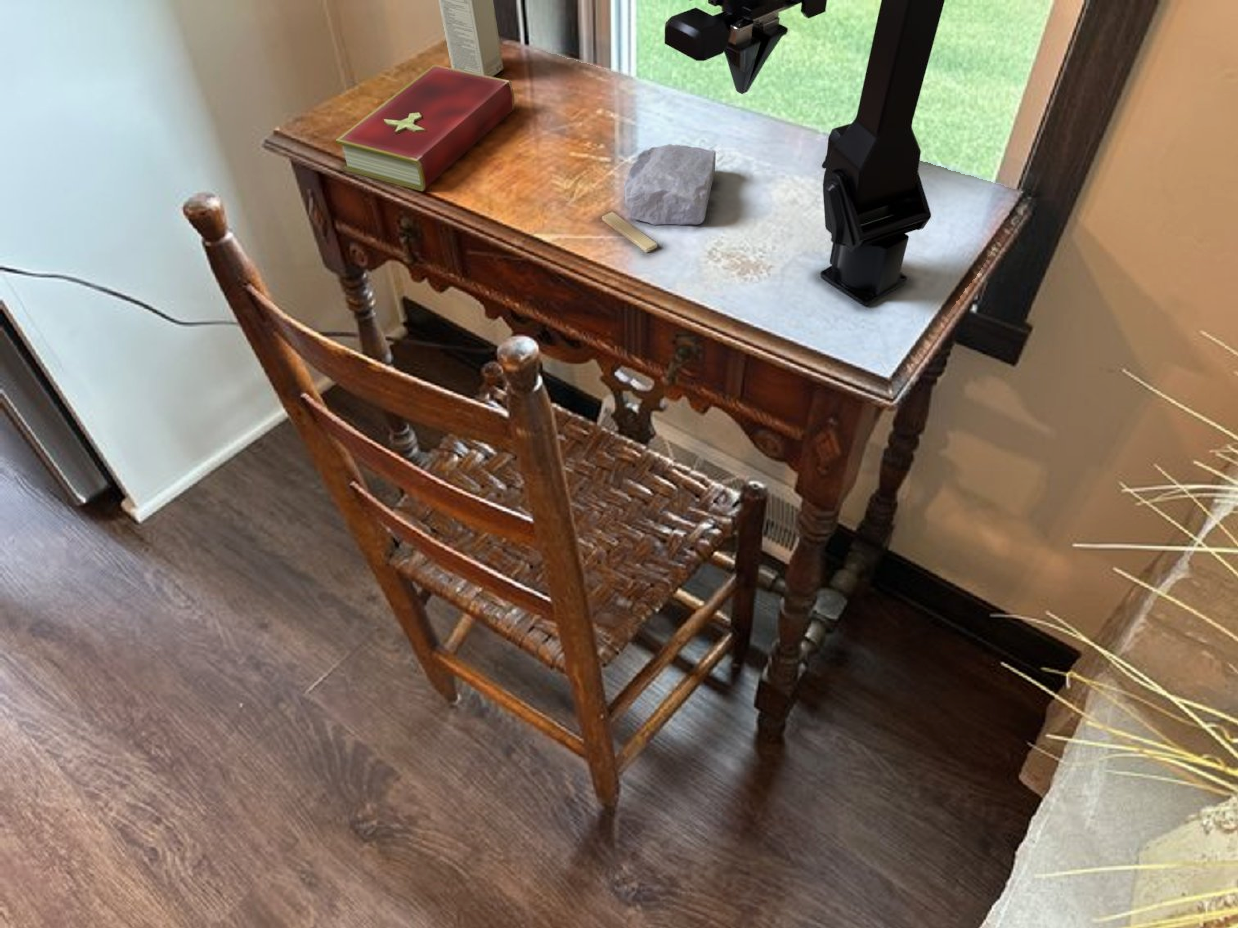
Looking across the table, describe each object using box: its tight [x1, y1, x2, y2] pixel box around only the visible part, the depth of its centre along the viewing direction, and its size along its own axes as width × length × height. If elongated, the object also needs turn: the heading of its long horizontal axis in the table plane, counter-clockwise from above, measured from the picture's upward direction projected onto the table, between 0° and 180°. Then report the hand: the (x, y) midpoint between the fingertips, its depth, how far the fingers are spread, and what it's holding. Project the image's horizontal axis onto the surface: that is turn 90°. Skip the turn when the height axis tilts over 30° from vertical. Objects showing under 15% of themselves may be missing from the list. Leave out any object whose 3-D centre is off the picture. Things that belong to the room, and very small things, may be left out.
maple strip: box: [601, 211, 658, 253], centre depth 101 cm, size 8×2×1 cm, turn 38°
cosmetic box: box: [438, 0, 504, 77], centre depth 123 cm, size 6×4×12 cm
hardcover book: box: [334, 63, 515, 192], centre depth 114 cm, size 12×21×4 cm, turn 154°
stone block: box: [623, 144, 717, 226], centre depth 104 cm, size 12×5×10 cm
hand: (741, 91), depth 103 cm, fingers closed
